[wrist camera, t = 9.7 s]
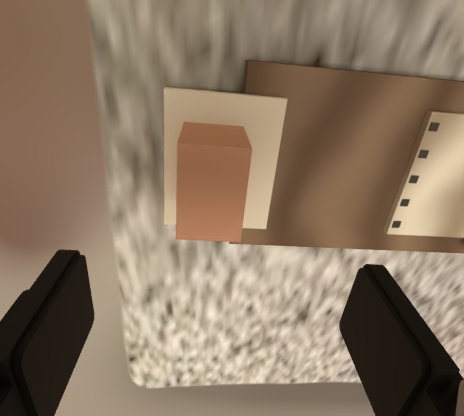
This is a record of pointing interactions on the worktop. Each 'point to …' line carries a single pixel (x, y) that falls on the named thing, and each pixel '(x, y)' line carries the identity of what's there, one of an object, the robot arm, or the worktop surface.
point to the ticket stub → (219, 161)
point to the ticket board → (364, 160)
